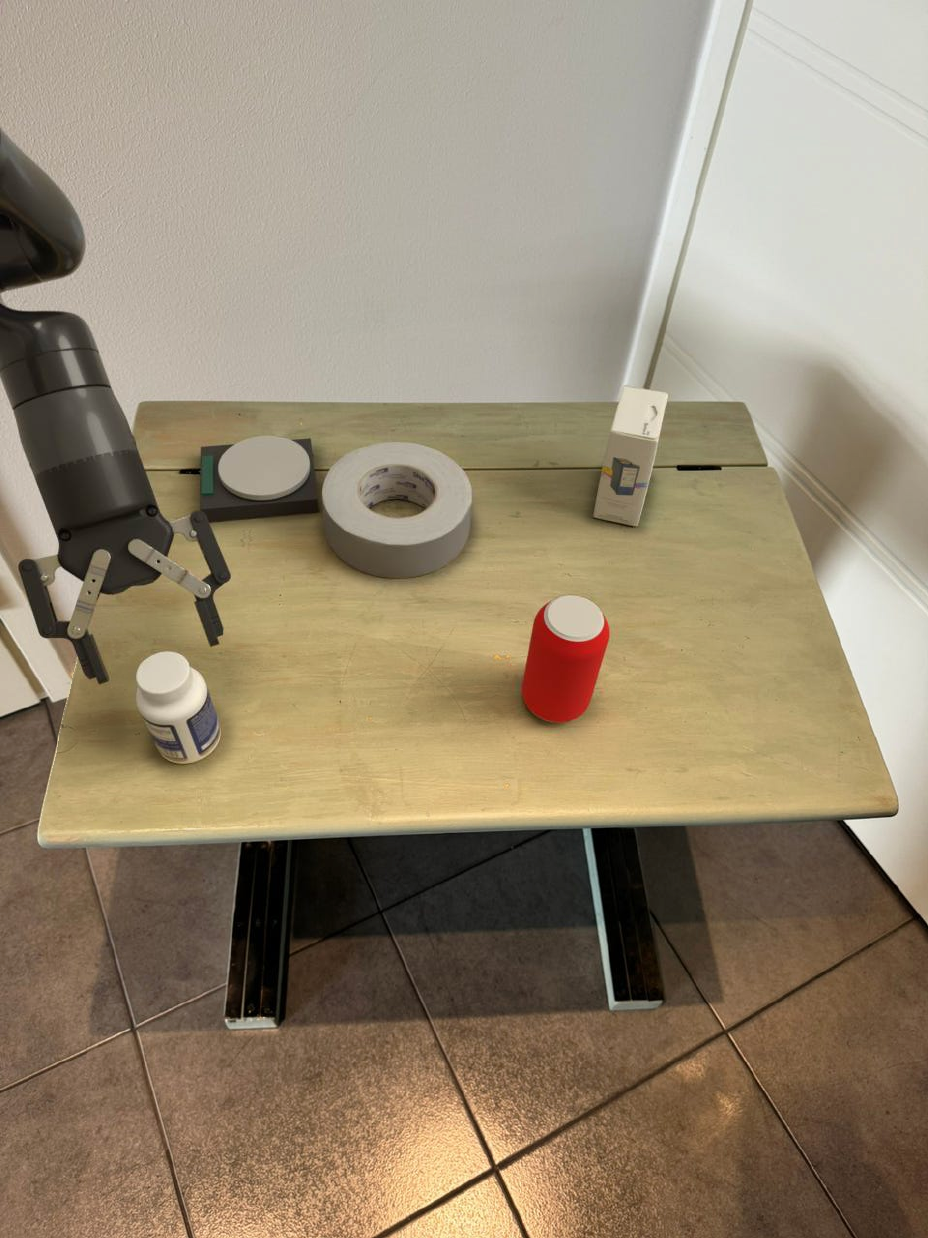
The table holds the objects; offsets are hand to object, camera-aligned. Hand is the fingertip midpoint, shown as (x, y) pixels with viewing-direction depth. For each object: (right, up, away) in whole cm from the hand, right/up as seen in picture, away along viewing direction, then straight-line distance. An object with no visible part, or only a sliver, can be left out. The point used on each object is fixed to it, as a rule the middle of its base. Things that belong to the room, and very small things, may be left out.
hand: (160, 663), depth 65 cm
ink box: (+41, +17, +28) cm, 52 cm away
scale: (+1, +18, +26) cm, 32 cm away
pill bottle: (0, -7, +6) cm, 9 cm away
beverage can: (+32, -4, +11) cm, 34 cm away
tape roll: (+17, +13, +23) cm, 32 cm away
